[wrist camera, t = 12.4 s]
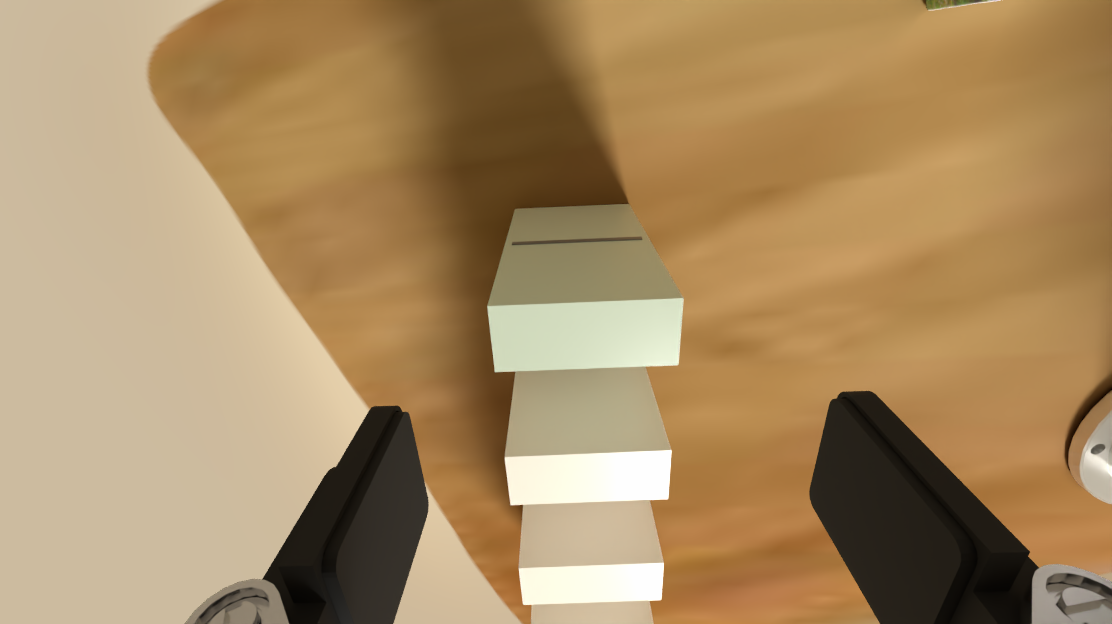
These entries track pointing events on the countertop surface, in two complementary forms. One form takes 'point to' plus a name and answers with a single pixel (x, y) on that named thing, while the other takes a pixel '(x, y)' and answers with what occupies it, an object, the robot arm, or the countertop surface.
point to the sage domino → (582, 293)
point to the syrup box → (951, 3)
